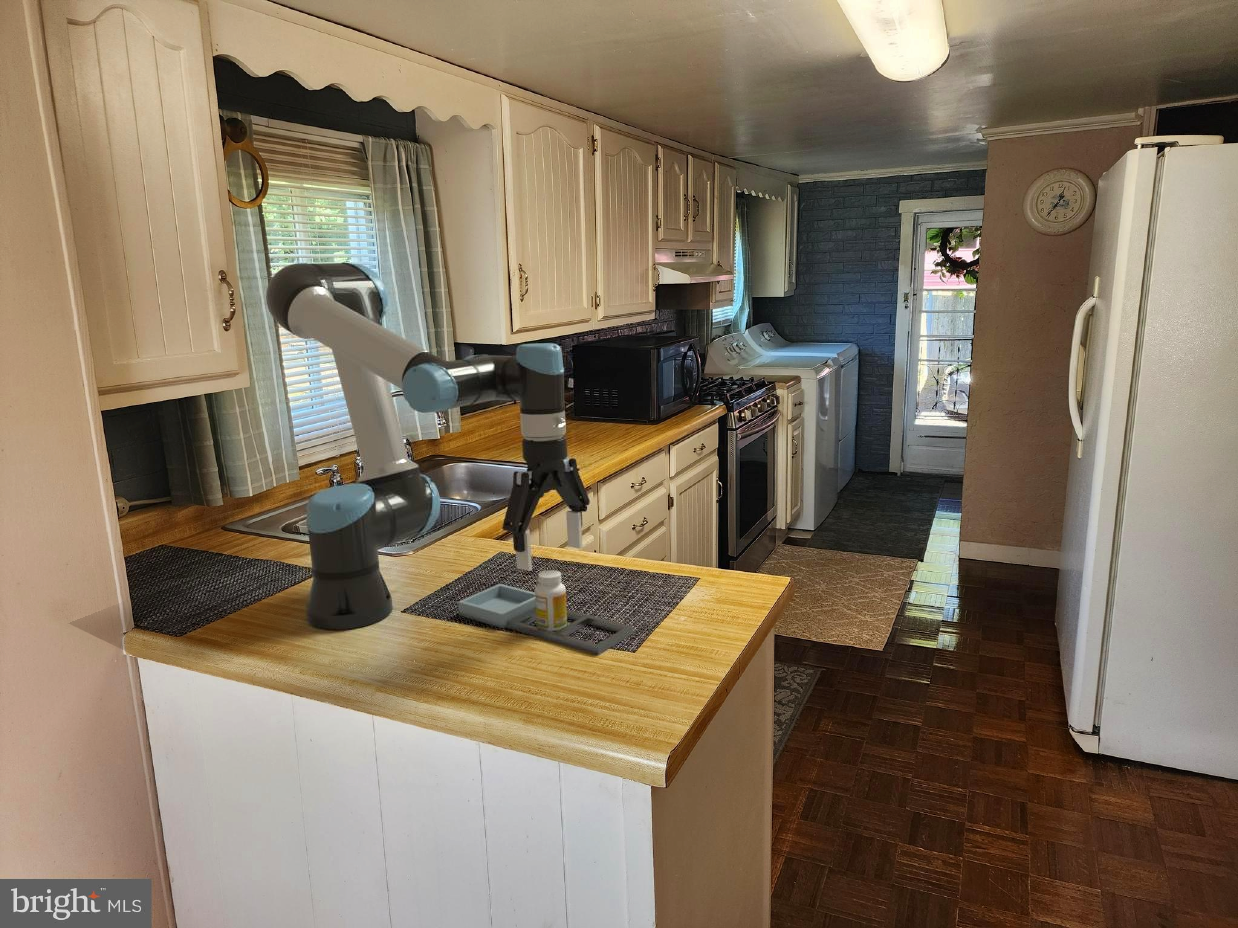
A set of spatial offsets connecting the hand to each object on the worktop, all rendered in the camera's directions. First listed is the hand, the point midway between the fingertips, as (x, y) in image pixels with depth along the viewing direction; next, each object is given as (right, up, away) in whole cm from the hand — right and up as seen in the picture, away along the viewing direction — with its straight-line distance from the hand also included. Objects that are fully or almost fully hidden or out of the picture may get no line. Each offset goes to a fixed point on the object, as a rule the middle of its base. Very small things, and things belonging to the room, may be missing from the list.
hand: (550, 557), depth 146 cm
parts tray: (-10, -11, +10) cm, 18 cm away
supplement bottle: (0, -12, +3) cm, 13 cm away
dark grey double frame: (+3, -13, +1) cm, 13 cm away
